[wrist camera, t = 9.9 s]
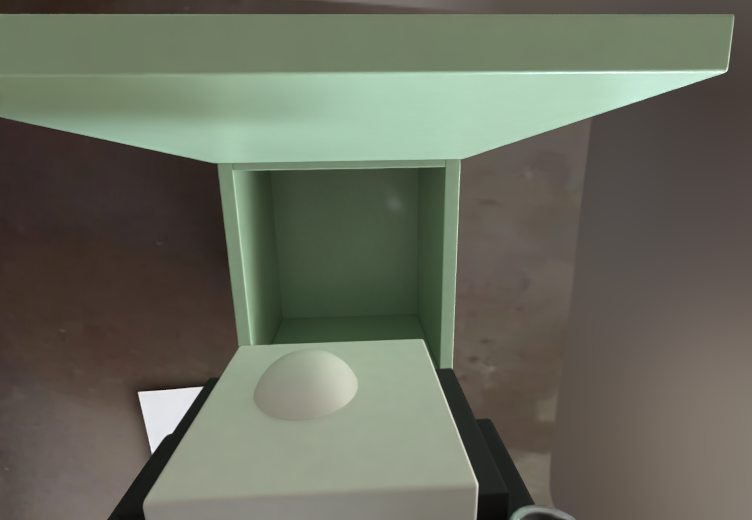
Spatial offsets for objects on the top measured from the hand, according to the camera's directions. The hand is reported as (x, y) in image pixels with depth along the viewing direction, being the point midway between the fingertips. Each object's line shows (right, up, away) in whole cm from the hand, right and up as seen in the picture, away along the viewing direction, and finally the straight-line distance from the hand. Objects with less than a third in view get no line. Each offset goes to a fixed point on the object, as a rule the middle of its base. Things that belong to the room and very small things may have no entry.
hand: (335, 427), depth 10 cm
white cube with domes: (0, 0, 0) cm, 0 cm away
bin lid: (0, +8, +3) cm, 8 cm away
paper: (-7, -14, +26) cm, 30 cm away
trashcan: (-1, +6, +21) cm, 22 cm away
